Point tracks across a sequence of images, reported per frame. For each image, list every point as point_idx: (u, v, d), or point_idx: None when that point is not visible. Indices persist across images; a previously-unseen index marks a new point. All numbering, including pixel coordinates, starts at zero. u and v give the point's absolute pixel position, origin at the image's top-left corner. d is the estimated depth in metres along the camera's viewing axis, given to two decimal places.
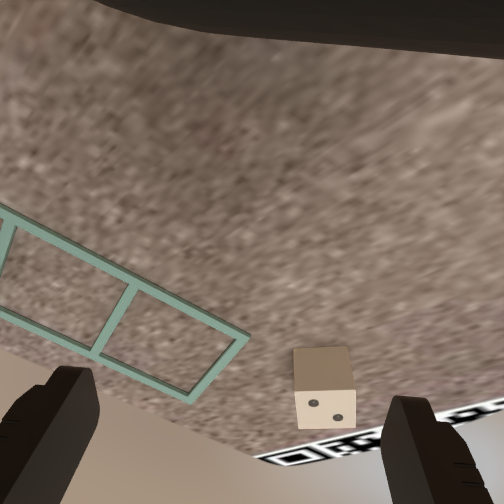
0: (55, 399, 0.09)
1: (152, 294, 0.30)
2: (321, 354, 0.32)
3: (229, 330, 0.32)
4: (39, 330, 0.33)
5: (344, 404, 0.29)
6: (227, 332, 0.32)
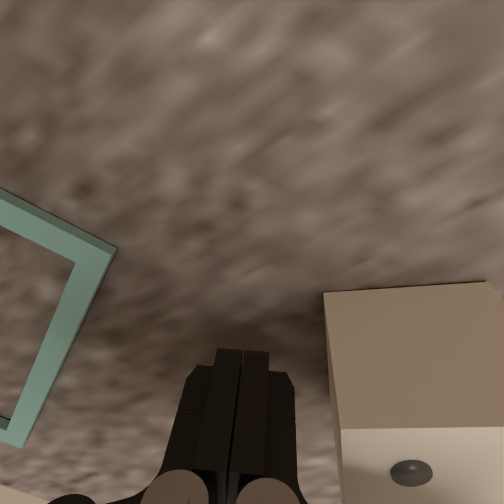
0: (229, 377, 0.10)
1: None
2: (415, 306, 0.10)
3: (45, 231, 0.10)
4: None
5: None
6: (42, 239, 0.11)
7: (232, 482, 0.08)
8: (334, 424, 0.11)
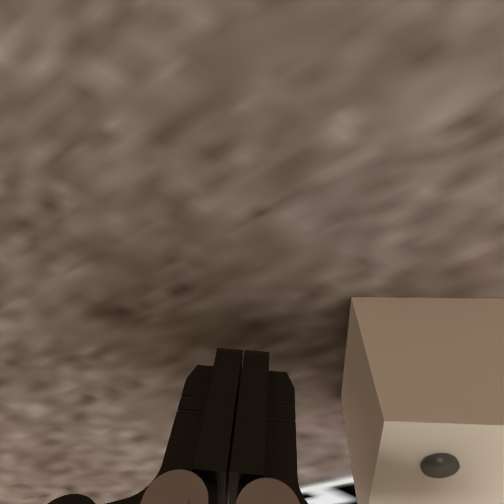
0: (229, 376, 0.10)
1: None
2: (439, 314, 0.11)
3: None
4: None
5: None
6: None
7: (232, 482, 0.08)
8: (352, 420, 0.12)
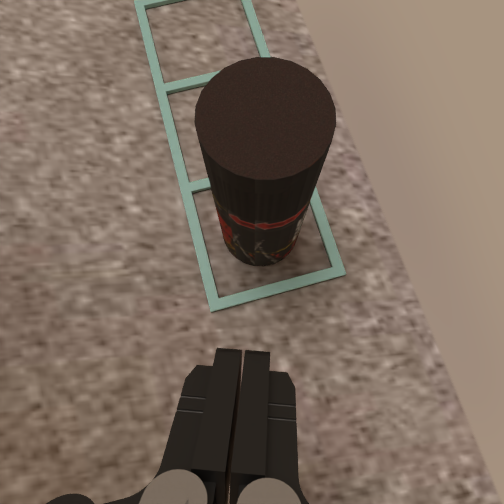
0: (228, 377, 0.10)
1: (159, 73, 0.34)
2: None
3: (140, 15, 0.36)
4: None
5: None
6: (143, 14, 0.36)
7: (233, 482, 0.08)
8: None
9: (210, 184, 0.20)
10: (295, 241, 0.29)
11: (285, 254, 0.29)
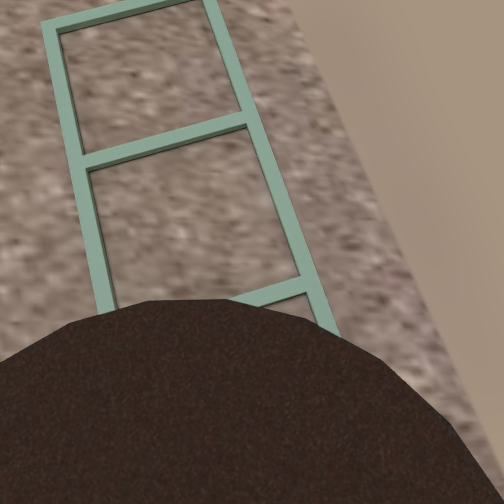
0: None
1: (76, 138, 0.21)
2: None
3: (49, 43, 0.23)
4: (276, 194, 0.20)
5: None
6: (54, 42, 0.23)
7: None
8: None
9: None
10: None
11: None
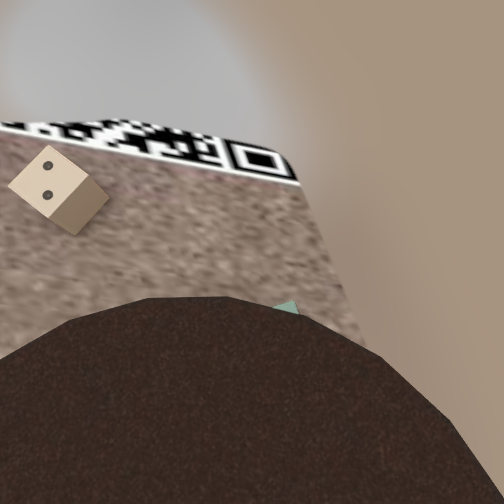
0: None
1: None
2: None
3: None
4: None
5: (30, 176, 0.30)
6: None
7: None
8: (89, 200, 0.32)
9: None
10: None
11: None
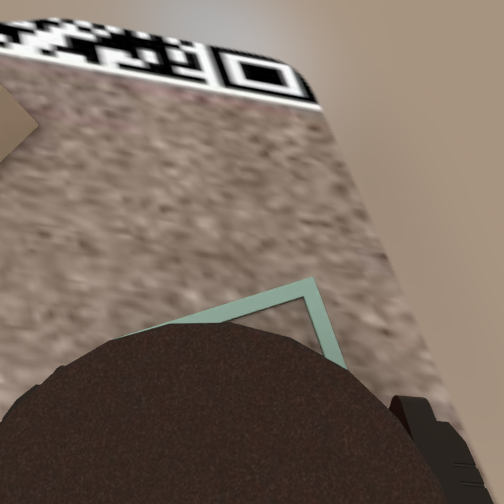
0: None
1: None
2: None
3: None
4: None
5: None
6: None
7: None
8: (0, 121, 0.21)
9: None
10: None
11: None
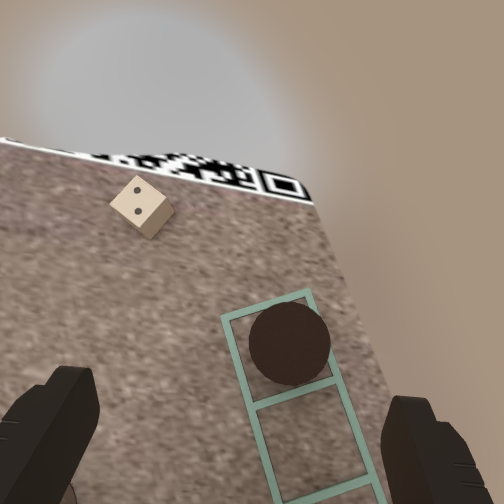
0: (55, 399, 0.09)
1: (248, 392, 0.41)
2: (133, 226, 0.46)
3: (227, 330, 0.43)
4: (353, 427, 0.40)
5: (125, 197, 0.43)
6: (229, 330, 0.43)
7: None
8: (163, 214, 0.45)
9: None
10: None
11: None
